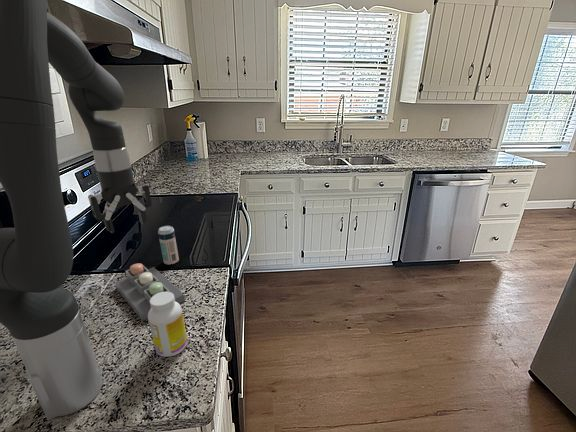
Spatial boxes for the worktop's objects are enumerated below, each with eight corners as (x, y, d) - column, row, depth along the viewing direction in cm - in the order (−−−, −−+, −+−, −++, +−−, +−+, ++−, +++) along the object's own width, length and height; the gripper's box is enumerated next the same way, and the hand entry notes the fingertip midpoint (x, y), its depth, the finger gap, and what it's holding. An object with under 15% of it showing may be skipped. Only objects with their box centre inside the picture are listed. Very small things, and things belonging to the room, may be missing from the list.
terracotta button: (134, 279, 86) (132, 270, 85) (130, 274, 89) (128, 266, 87) (146, 274, 88) (144, 266, 87) (141, 270, 91) (139, 262, 90)
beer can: (181, 257, 103) (175, 224, 99) (176, 265, 99) (171, 231, 94) (166, 258, 103) (160, 225, 99) (161, 265, 99) (154, 231, 94)
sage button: (153, 300, 78) (151, 291, 77) (148, 294, 80) (146, 285, 79) (166, 294, 80) (164, 285, 79) (160, 289, 82) (159, 280, 81)
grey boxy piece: (142, 321, 76) (139, 306, 74) (116, 287, 88) (112, 274, 86) (184, 300, 83) (182, 286, 81) (154, 272, 95) (152, 259, 94)
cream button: (143, 289, 82) (141, 280, 81) (139, 284, 84) (137, 275, 83) (155, 284, 84) (153, 275, 83) (150, 279, 86) (149, 270, 85)
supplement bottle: (191, 334, 72) (183, 287, 67) (183, 357, 65) (173, 308, 60) (161, 335, 71) (151, 288, 66) (150, 359, 65) (139, 309, 60)
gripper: (84, 175, 69) (102, 241, 76) (149, 164, 78) (160, 223, 85) (76, 169, 74) (93, 231, 81) (138, 159, 83) (149, 216, 90)
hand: (128, 227), depth 83 cm, fingers open, 7 cm apart
